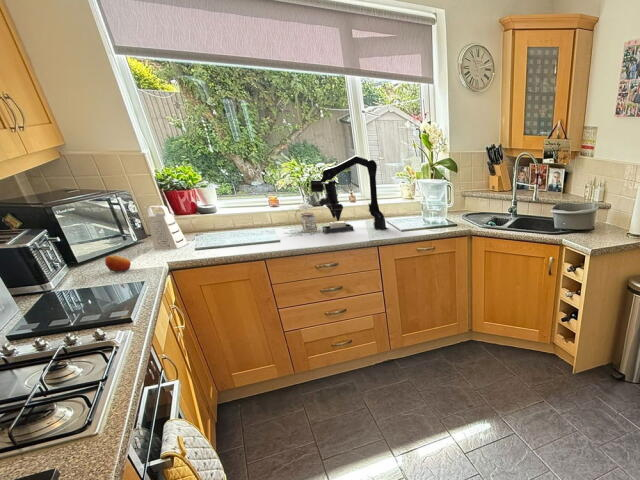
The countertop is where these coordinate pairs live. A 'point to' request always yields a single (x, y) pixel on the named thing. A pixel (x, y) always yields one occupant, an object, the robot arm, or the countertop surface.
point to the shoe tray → (337, 229)
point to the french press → (309, 217)
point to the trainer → (337, 224)
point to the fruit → (117, 263)
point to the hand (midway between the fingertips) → (336, 219)
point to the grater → (165, 230)
